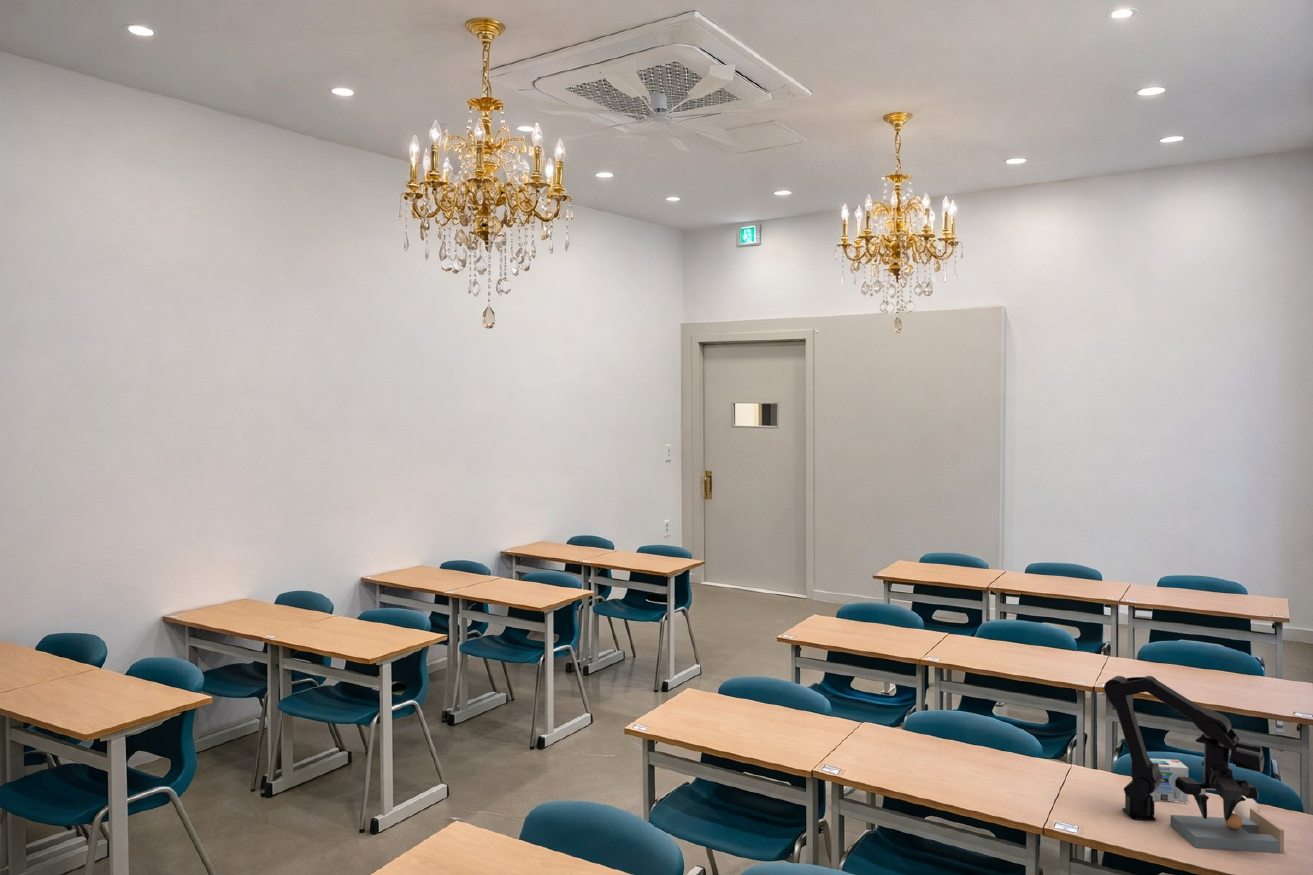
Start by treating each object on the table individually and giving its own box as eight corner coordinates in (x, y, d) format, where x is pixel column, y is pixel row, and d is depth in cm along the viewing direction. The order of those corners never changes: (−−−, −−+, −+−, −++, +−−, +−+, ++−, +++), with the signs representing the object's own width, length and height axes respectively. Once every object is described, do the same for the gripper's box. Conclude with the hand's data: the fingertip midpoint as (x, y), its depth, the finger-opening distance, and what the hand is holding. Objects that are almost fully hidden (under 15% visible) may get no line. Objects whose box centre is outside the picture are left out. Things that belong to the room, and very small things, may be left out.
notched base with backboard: (1195, 847, 222) (1195, 825, 222) (1170, 825, 234) (1170, 804, 235) (1283, 852, 219) (1283, 829, 219) (1253, 829, 232) (1253, 808, 232)
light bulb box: (1151, 801, 250) (1151, 765, 250) (1141, 791, 257) (1141, 757, 257) (1189, 803, 249) (1189, 767, 249) (1178, 794, 256) (1178, 759, 256)
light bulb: (1264, 816, 230) (1255, 790, 240) (1236, 815, 233) (1228, 790, 243) (1268, 836, 232) (1258, 810, 241) (1240, 836, 234) (1231, 810, 244)
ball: (1226, 826, 225) (1234, 814, 225) (1218, 819, 229) (1225, 807, 229) (1240, 834, 225) (1248, 822, 224) (1231, 827, 229) (1239, 815, 228)
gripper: (1196, 770, 220) (1195, 829, 220) (1271, 775, 218) (1270, 835, 218) (1174, 755, 231) (1173, 811, 231) (1246, 759, 229) (1245, 816, 229)
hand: (1215, 819), depth 227 cm, fingers open, 5 cm apart
